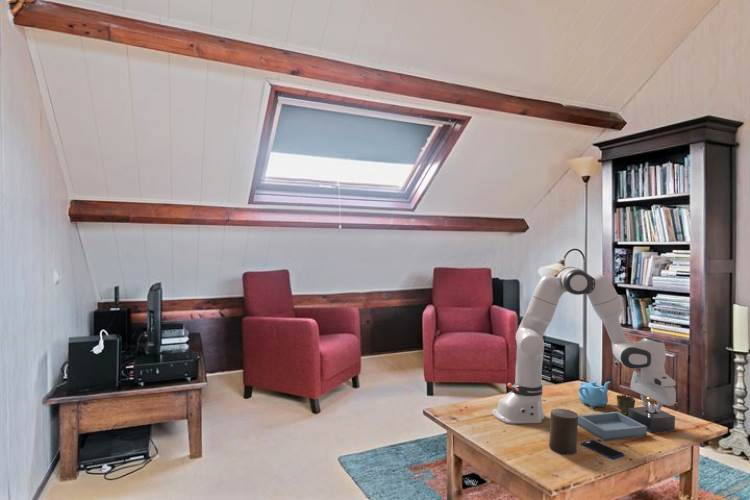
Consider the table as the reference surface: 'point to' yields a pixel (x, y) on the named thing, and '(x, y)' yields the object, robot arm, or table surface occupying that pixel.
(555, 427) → the pillar candle
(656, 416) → the block
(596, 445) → the cell phone
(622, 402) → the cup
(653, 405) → the pin
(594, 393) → the teapot
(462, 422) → the table surface
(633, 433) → the tray
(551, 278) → the robot arm
